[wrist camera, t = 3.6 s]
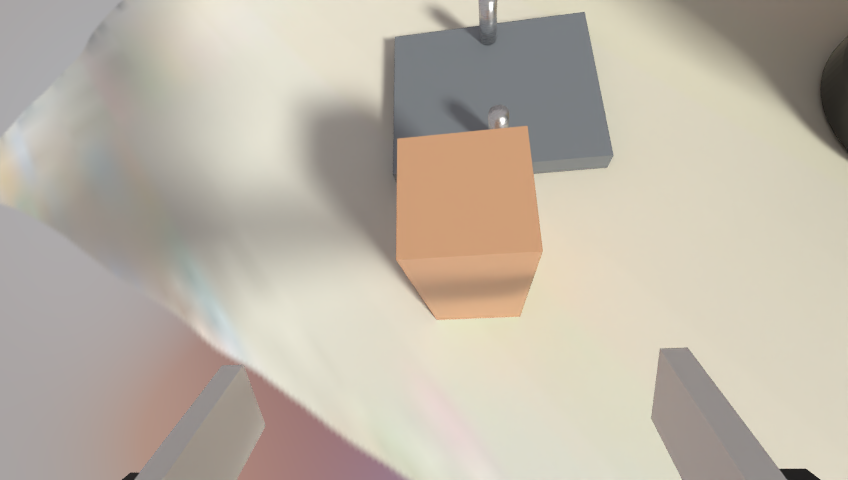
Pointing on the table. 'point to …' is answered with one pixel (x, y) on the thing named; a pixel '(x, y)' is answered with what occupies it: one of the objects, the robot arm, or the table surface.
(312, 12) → the table surface
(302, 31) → the table surface
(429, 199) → the case
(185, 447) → the robot arm
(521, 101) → the pin tray
